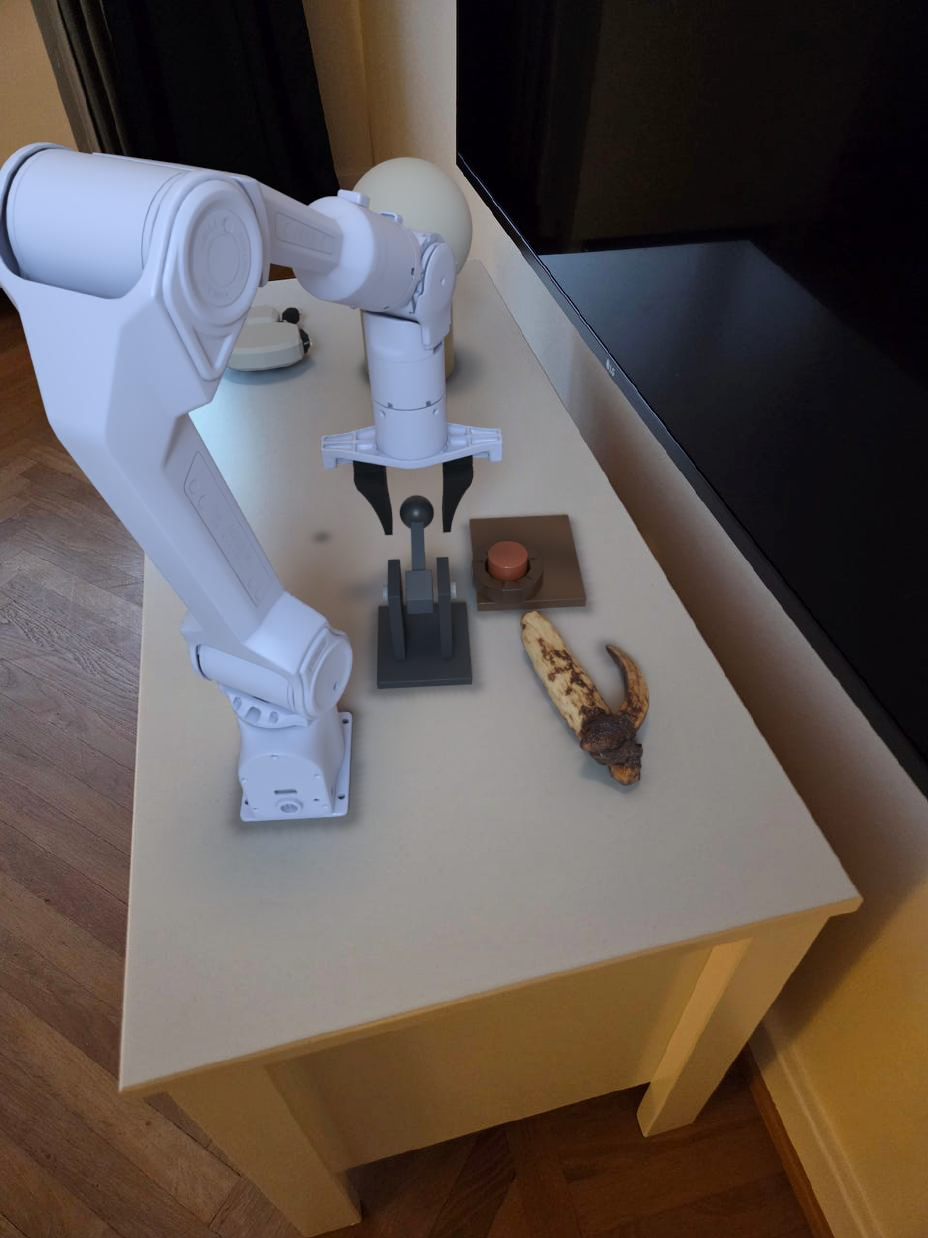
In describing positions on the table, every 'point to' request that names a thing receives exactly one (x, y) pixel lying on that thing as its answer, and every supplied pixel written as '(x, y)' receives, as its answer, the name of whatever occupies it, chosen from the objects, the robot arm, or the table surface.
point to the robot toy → (269, 340)
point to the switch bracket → (422, 637)
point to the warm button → (507, 561)
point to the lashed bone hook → (590, 699)
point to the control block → (528, 564)
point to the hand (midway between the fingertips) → (417, 526)
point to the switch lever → (418, 555)
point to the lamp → (422, 213)
